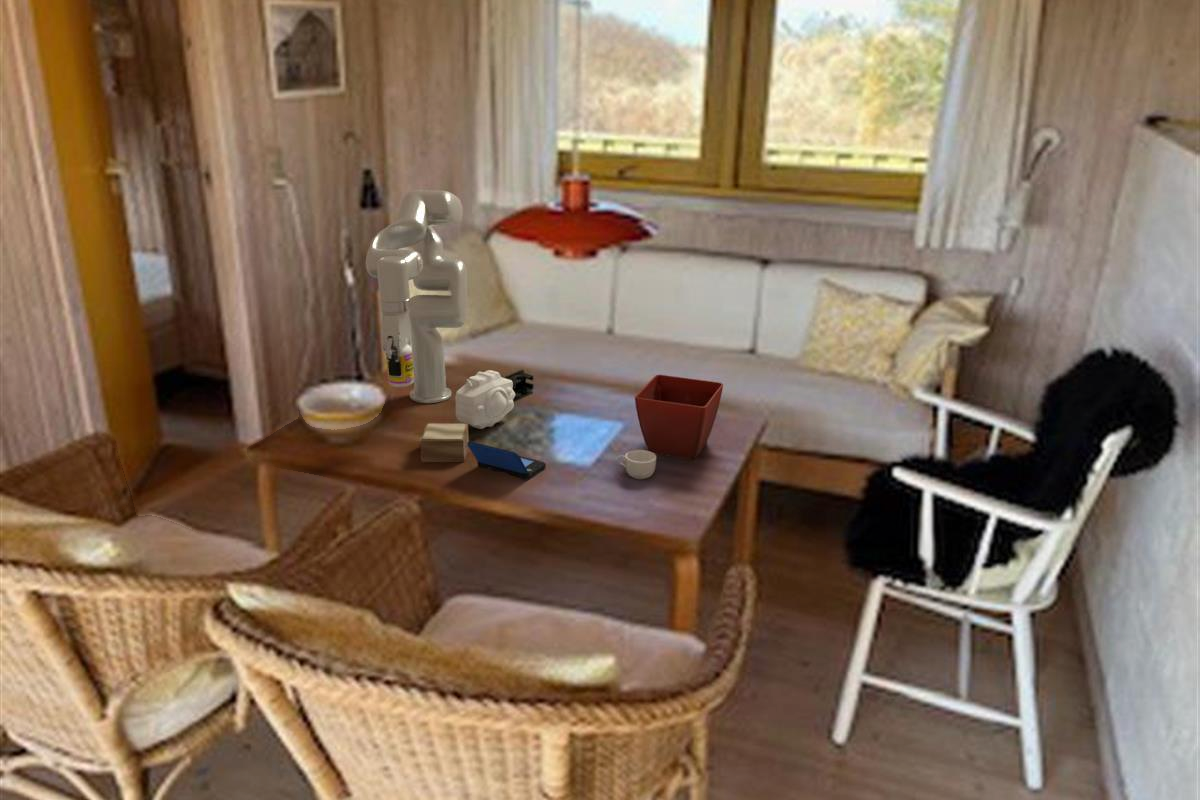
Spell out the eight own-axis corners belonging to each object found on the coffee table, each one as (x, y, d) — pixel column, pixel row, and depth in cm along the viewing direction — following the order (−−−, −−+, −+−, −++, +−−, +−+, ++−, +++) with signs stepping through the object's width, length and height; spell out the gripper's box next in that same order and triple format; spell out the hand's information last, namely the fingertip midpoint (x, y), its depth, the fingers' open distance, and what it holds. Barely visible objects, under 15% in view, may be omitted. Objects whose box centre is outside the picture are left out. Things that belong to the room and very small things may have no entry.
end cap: (516, 388, 289) (516, 367, 287) (534, 392, 286) (534, 372, 283) (495, 397, 282) (495, 376, 279) (513, 402, 278) (513, 381, 275)
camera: (450, 430, 257) (448, 376, 251) (495, 411, 271) (493, 360, 265) (479, 440, 251) (477, 385, 245) (523, 420, 264) (522, 368, 259)
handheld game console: (548, 468, 236) (547, 434, 233) (518, 488, 225) (517, 453, 222) (498, 454, 243) (496, 422, 240) (467, 473, 232) (465, 440, 229)
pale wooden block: (427, 444, 248) (426, 422, 246) (468, 444, 248) (467, 422, 246) (421, 461, 238) (420, 439, 236) (464, 461, 238) (463, 439, 236)
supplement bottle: (408, 389, 240) (404, 342, 235) (384, 386, 242) (380, 340, 237) (418, 379, 246) (414, 334, 241) (394, 377, 248) (391, 332, 243)
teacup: (660, 472, 234) (661, 453, 232) (648, 484, 227) (649, 465, 225) (624, 464, 238) (624, 445, 236) (611, 476, 231) (612, 457, 229)
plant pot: (631, 456, 243) (633, 396, 237) (654, 429, 259) (656, 373, 253) (701, 468, 236) (705, 407, 230) (720, 440, 253) (724, 383, 247)
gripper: (393, 295, 244) (398, 358, 251) (368, 314, 228) (374, 381, 235) (420, 296, 243) (424, 360, 250) (397, 316, 227) (402, 383, 234)
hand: (400, 369), depth 243 cm, fingers closed on supplement bottle, 6 cm apart
